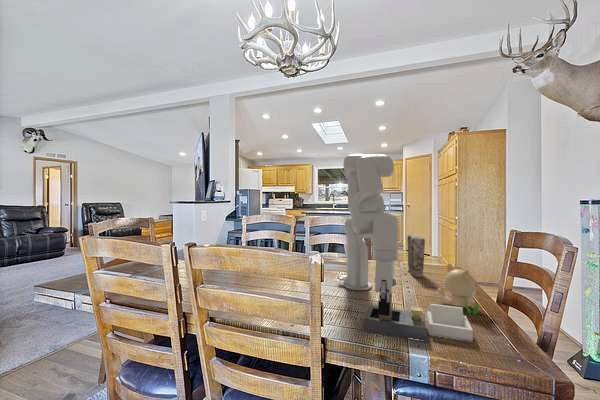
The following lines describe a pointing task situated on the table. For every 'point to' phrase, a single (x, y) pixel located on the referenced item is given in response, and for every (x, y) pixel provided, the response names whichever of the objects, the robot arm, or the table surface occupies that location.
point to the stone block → (415, 255)
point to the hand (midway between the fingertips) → (385, 308)
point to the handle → (390, 306)
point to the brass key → (416, 312)
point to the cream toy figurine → (460, 288)
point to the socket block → (396, 324)
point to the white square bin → (449, 323)
